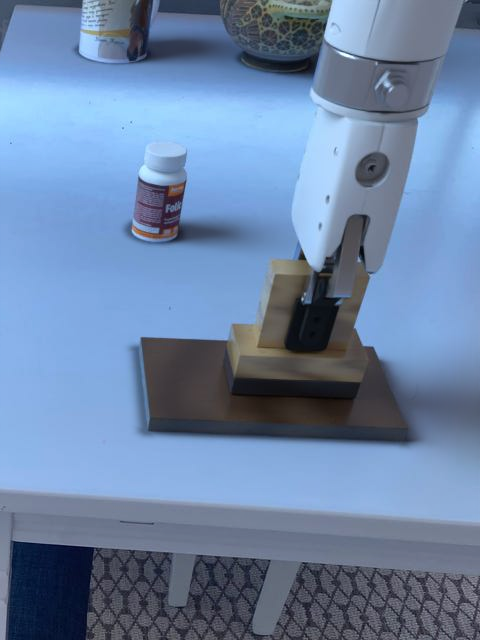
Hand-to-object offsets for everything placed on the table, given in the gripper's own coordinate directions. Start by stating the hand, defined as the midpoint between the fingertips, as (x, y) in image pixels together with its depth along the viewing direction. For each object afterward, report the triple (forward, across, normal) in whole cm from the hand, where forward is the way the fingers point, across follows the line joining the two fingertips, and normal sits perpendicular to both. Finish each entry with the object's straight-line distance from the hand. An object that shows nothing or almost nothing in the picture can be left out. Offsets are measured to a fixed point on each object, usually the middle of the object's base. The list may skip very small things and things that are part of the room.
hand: (301, 336), depth 74 cm
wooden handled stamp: (+4, 0, 0) cm, 4 cm away
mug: (+6, +87, +10) cm, 88 cm away
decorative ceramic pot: (+6, +85, -12) cm, 86 cm away
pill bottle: (+6, +29, +9) cm, 31 cm away
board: (+6, 0, +2) cm, 6 cm away
